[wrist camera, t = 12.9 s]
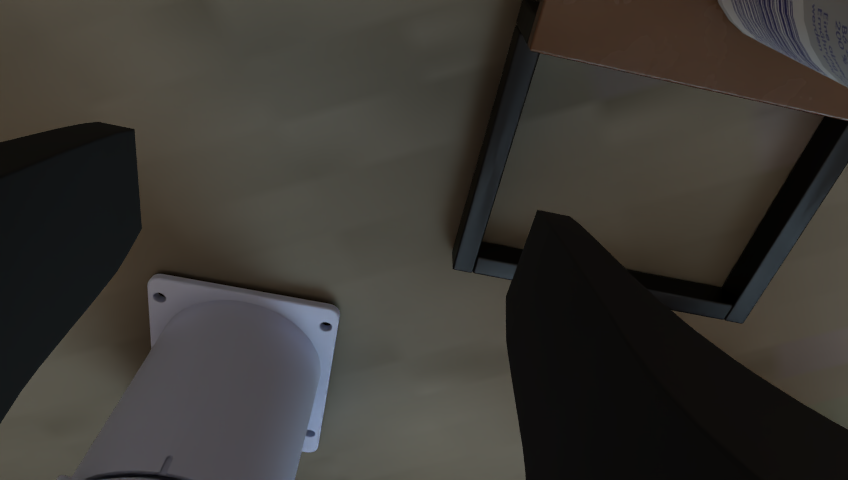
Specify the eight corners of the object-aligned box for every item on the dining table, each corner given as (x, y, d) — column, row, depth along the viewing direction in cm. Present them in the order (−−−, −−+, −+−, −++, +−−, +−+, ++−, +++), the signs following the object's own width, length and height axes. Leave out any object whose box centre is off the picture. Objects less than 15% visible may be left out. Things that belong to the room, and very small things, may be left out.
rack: (730, 305, 24) (787, 389, 20) (451, 252, 23) (453, 329, 19) (1068, -235, 15) (1297, -276, 11) (622, -362, 14) (695, -461, 10)
